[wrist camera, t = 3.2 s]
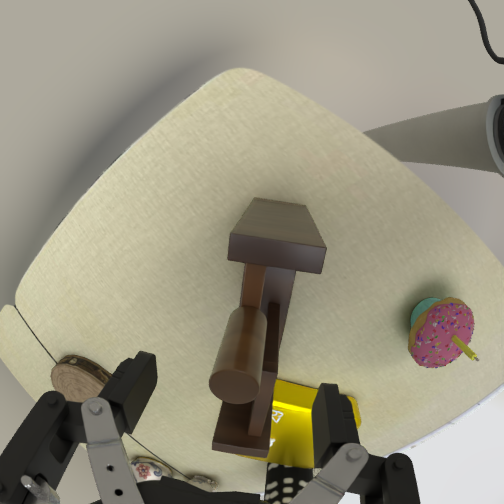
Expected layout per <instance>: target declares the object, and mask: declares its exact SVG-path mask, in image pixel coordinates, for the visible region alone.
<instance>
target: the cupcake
mask: <svg viewBox="0 0 504 504" xmlns="http://www.w3.org/2000/svg"><path fill="white" fill-rule="evenodd" d="M472 313H473V312H472V311H471V309H470V308H469V307H467V305H466V304H465V303H464V302H463V301H461V300H460V299H456V298H451V297H448V298H445V299H444V300H440V299H438V298H433V297H432V298H427V299H425V300H423V301H421V302H420V303H419V304H418V305H417V306H416V307H415V309H414V310H413V312H412V315H411V319H410V322H411V330H410V334H409V344H408V350H409V352H410V354H411V356H412V358H413V359H414V360H415V361H416V363H418V364H419V365H420V366H424V367H426V368H434V367H435V368H438V367H442V366H446V364H448V363H451V362H452V361H454V360H455V359H456V358H458V357H459V356H460V355H461V353H463V352H464V353H465V354H466V355H467V356H468V357H469V358H470V359H471V360H477V361H479V359H478V358H477V355H476V354H475V353H474V352H473V351H472V350H471V349H470V348H469V347H468V346H467V345H468V343H470V342H471V340H470V339H471V336H472V334H473V330H474V319H473V314H472Z"/></svg>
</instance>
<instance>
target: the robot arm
mask: <svg viewBox="0 0 504 504" xmlns="http://www.w3.org/2000/svg"><path fill="white" fill-rule="evenodd" d="M468 1H469V2H470V4H471V6H472V8H473V10H474V11H475V14H476V16H477V19H478V22H479V26H480V31H481V36H482V40H483V43H484V46H485V48H486V50H487V52H488V54H489V55H490V56H491V58H492V59H493V60H494V61H495V62H497V63H499V64H504V58H501V57H497V55H496V54H495V53H494V52H493V50H492V49H491V46H490V44H489V41H488V36H487V32H486V27H485V23H484V20H483V17H482V14H481V12H480V10H479V8H478V6H477V5H476V3H475V1H474V0H468ZM493 137H494V142H495V146H496V149H497V152H498V154H499V157H500V158H501V160H502V162H503V163H504V98H501V105H500V106H499V107H498V108H497V110H496V112H495V115H494V119H493ZM157 378H158V376H157V366H156V356H155V355H154V354H151V353H147V352H144V351H139V352H138V354H137V355H136V357H135V358H134V359H131V358H128V359H126V360H124V361H123V362H121V363H120V365H119V366H118V367H117V369H116V371H115V372H114V373H113V374H112V377H110V379H109V380H108V382H107V383H106V384H105V386H104V387H103V389H102V390H101V392H100V393H99V394H98V396H97V397H91V398H88V399H87V400H85V401H84V402H74V401H67V400H66V399H65V397H64V395H63V394H62V393H60V392H58V391H48V392H46V393H44V394H43V395H42V396H41V397H40V399H39V400H38V402H37V403H36V404H35V406H34V407H33V408H32V410H31V411H30V413H29V414H28V416H27V417H26V419H25V420H24V421H23V423H22V424H21V426H20V427H19V428H18V430H17V431H16V433H15V434H14V436H13V437H12V439H11V440H10V442H9V443H8V445H7V447H6V448H5V449H4V451H3V453H2V454H1V456H0V504H60V498H59V496H58V494H57V493H56V488H57V486H58V484H59V482H60V480H61V478H62V476H63V474H64V472H65V470H66V468H67V466H68V464H69V462H70V460H71V458H72V456H73V454H74V452H75V450H76V448H77V446H78V445H79V443H87V445H86V447H87V452H88V456H89V460H90V464H91V468H92V471H93V475H94V478H95V482H96V485H97V488H98V491H99V494H100V497H101V499H100V500H98V501H95V502H93V503H91V504H270V503H268V502H265V501H263V500H260V494H252V493H244V492H237V491H233V492H208V491H205V490H203V489H200V488H198V487H196V486H194V485H192V484H189V483H187V482H185V481H181V480H177V479H174V478H170V477H167V476H163V475H162V476H161V479H160V480H147V481H142V482H138V481H137V479H136V476H135V474H134V472H133V469H132V467H131V464H130V461H129V459H128V456H127V453H126V450H125V448H124V445H123V442H122V439H121V437H122V435H123V433H124V432H126V433H128V434H132V432H133V430H134V428H135V426H136V424H137V422H138V421H139V419H140V417H141V415H142V413H143V411H144V409H145V407H146V405H147V403H148V401H149V399H150V397H151V395H152V393H153V391H154V389H155V387H156V384H157ZM311 418H312V433H313V451H314V468H321V469H322V470H321V471H320V472H319V473H318V474H317V475H316V476H315V477H314V478H313V479H312V480H311V481H310V482H309V483H308V484H307V485H306V486H305V487H304V488H303V489H302V490H301V491H300V492H299V493H298V494H297V495H296V496H295V497H294V498H293V499H292V500H291V501H290V502H289V503H288V504H338V502H339V501H340V500H341V499H342V497H343V496H344V493H345V492H350V493H355V494H359V495H360V504H420V498H419V493H418V487H417V482H416V478H415V473H414V468H413V464H412V461H411V459H410V458H409V457H408V456H407V455H405V454H402V453H394V454H391V455H390V456H388V457H387V458H384V457H379V456H374V455H371V454H369V453H368V452H367V450H366V449H365V448H364V447H363V446H362V445H360V441H359V436H358V431H357V426H356V421H355V419H354V418H355V416H354V412H353V407H352V403H351V401H350V400H349V398H348V397H347V396H346V395H339V389H338V385H337V384H328V383H321V385H320V387H319V390H318V392H317V395H316V397H315V400H314V402H313V405H312V411H311Z"/></svg>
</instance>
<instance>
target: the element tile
mask: <svg viewBox="0 0 504 504" xmlns="http://www.w3.org/2000/svg"><path fill="white" fill-rule="evenodd" d="M317 392H318V389H313V388H309V387H305V386H301V385H297V384H293V383H289V382H286V381H282V380H278V379H276V382H275V386H274V394H273V409H272V423H271V436H270V449H269V453H268V456H267V458H260V457H252V456H245V455H238V454H236V455H238V456H242V457H247V458H251V459H255V460H260V461H265V462H270V463H275V464H281V465H287V466H293V467H300V468H314V451H313V433H312V418H311V411H312V405H313V402H314V400H315V397H316V395H317ZM339 395H340V394H339ZM347 397H348V398H349V400H350V401H351V403H352V407H353V412H354V416H355V418H354V419H355V421H356V426H357V429H358V428H359V427H360V425H361V417H360V413H359V409H358V404H357V401H356V400H355V399H354V398H353V397H350V396H347Z"/></svg>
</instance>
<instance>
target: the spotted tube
mask: <svg viewBox="0 0 504 504" xmlns="http://www.w3.org/2000/svg"><path fill="white" fill-rule="evenodd" d="M312 479H313V468H300V467H293V466H287V465H281V464H275V463H270V462H268V464H267V475H266V485H265V495H264V501H265V502H268V503H270V504H288V503H289V502H290V501H291V500H292V499H293V498H294V497H295V496H296V495H297V494H298V493H299V492H300V491H301V490H302V489H303V488H304V487H305V486H306V485H307V484H308V483H309V482H310V481H311V480H312Z"/></svg>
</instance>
